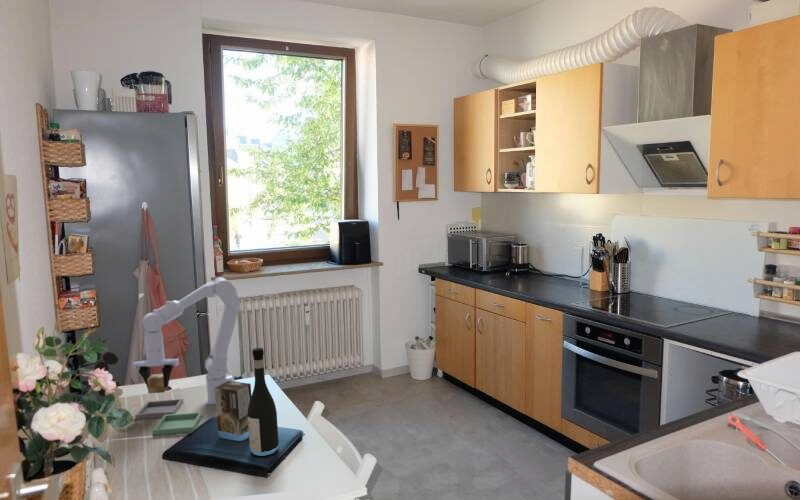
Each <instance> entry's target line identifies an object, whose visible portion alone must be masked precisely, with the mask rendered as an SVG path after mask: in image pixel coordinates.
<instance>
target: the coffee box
mask: <svg viewBox="0 0 800 500" xmlns="http://www.w3.org/2000/svg"><path fill="white" fill-rule="evenodd" d="M214 391H215V402H216V404H215V411H216V413H215V414H216V422H217V431H218V430H219V431H223V432H228V433H232V434H236V435H243V434H244V433H246V432H248V431H249V427H248V406H249V402H250V399H251V396H252V383H248V382H242V381H235V382H233V381H227V382H225V383H223V384H221V385H219V386H217V387H215V388H214Z"/></svg>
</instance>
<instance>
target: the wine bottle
mask: <svg viewBox="0 0 800 500" xmlns="http://www.w3.org/2000/svg"><path fill="white" fill-rule="evenodd" d="M264 354H265V353H264V348H262V347H256V348H253V349H252V357H253V369H254V385H253V390H252V392H251V399H250V402H249V406H248V427H249V438H248V440H249V441H248V442H249V449H250V448H251V449H252V450H254V451H258V452H264V451H265V452H266V451H270V450H272V449H274V448H276V447H277V446H278V444H279V445H280V443H279V441H280V439H279V431H278V429H279V427H278V425H279V424H278V412H277V408H276V402H275V400H274V398H273V396H272V395H271V394H272V393H271V392H270V391H269V388H268V385H267V383H266V378H265V365H264V362H265V361H264Z"/></svg>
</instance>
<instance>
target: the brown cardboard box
mask: <svg viewBox="0 0 800 500" xmlns="http://www.w3.org/2000/svg"><path fill="white" fill-rule="evenodd" d="M147 385H148V389H147V393H148V395H149V394H160V393H163V394H164V393H165V391H167V389H168V388H169V386H168V387H167V388H165V386H164V376H163V373H156V374H155V373H154V374H151V376H150V377H149V378H148V379H147ZM147 385H146V386H147Z"/></svg>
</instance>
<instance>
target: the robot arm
mask: <svg viewBox="0 0 800 500" xmlns="http://www.w3.org/2000/svg"><path fill="white" fill-rule="evenodd" d="M215 295H216V296H217V297H218V298H219V299H220V300H221V301H222V303H223V305H224V310H223V313H222V316H221V319H220V320H221V321H220V323H219V327H218V330H217V334H216V338H215V341H214V345H213V348H212V349H211V351H210V354H209V356H208V357H207V359H206V360H205V362H204V367H205V369H206V370H207V374H206V376H205V382H206V383H205V384H206V392H207V393H206V396H207V399H206V400H205V402H204V405H216V402H215V391H214V388H215V387H217V386H219V385H221V384H223V383H225V382H227V381H233V382H236V381H235V376H234V375H232V374H231V375H229V374H228V373H227V371H228V366H227V363H228V350H229V347H230V344H231V341H232V336H233V334H234V329H235V325H236V321H237V319H238V314H239V311H240V307H241V301H240V298H239V296H238V292H237V288H236V286H234V285H233V283H232V282H230V280H227V279H226V278H224V277H221V276H220V277H216V278H214V279H213V280H210V281H208V282H207V283H205V284H203V285H201V286H200V287H198V288H197V289H195V290H194V291H192V292H191V293H189V294H188V295H186V296H184V297H183V298H181V299H180V300H171V301H170V300H167V301H166V302H165V304H164V305H162V306H161V307H159V308H157V309H156V308H155V309H152V312H148V313H146V314H145V315H144V316H143V318H142V323H141V325H143V328H144V332H143V334H144V337H143V338H144V348H145V349H144V350H145V358H146V360H141V361H134V362H132V369H133V370H137V369H138V373H139V375H140V376H141V377H142V379H143V381H144V383H145V385H146V388H147V390H148V385H147V379H148V378H149V377H150V376H151V375H152V374H151V371H152V368H157V367H160V368H161V367H162V368H161V371H162V374H163V376H164V386H165V388H167V387H168V388H169V384H170V383H169V382H170V378H171V373H172V371H173V368H174V367H177V366H179V365H180V361H179V360H180V359H179V358H165V355H166V354H165V347H164V335H163V332H162V327H163V325H167V324H168V323H170V322H171V321H173V320H175V319H176V318H178V317H180V316H182V315H183V312H184V311H185V309H186V308H188V307H190V306H192V305H194V304H196V303H197V302H199V301H200V300H203V299H204V298H215V297H216V296H215ZM168 388H167V389H168Z"/></svg>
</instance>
